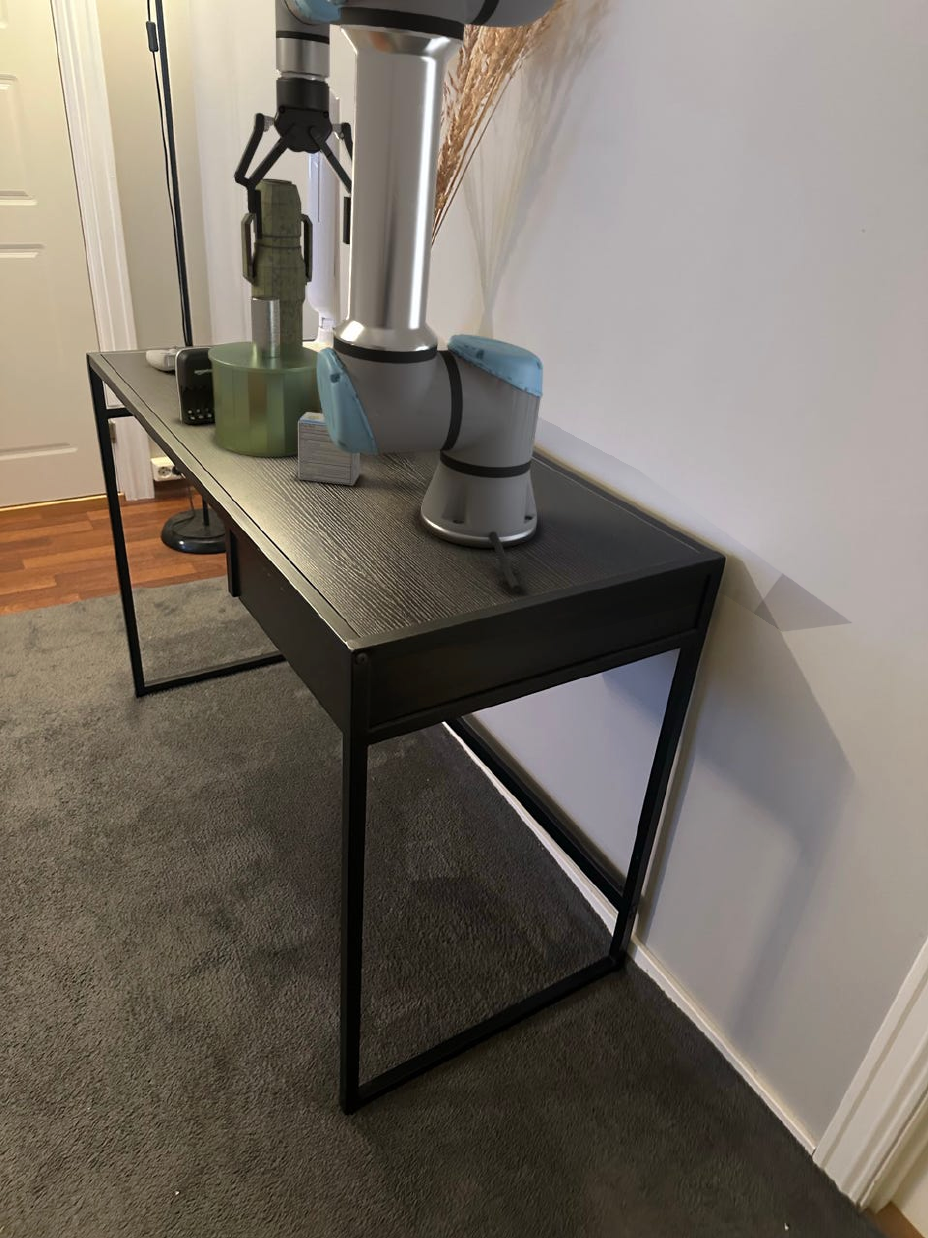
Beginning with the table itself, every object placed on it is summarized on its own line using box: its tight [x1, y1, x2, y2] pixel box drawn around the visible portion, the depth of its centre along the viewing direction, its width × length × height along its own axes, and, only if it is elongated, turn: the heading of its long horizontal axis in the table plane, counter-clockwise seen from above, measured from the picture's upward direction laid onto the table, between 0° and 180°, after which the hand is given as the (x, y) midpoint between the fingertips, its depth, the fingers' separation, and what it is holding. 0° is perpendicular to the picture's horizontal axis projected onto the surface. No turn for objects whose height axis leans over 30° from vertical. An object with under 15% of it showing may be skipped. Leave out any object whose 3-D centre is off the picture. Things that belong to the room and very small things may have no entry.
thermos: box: [240, 178, 314, 347], centre depth 139 cm, size 9×12×35 cm
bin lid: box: [208, 295, 319, 373], centre depth 122 cm, size 17×17×9 cm
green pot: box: [212, 362, 321, 458], centre depth 127 cm, size 16×16×12 cm
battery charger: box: [174, 346, 215, 425], centre depth 131 cm, size 7×4×11 cm, turn 131°
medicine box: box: [297, 412, 361, 487], centre depth 116 cm, size 8×4×9 cm, turn 84°
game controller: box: [145, 345, 180, 372], centre depth 159 cm, size 14×4×10 cm
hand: (303, 240), depth 129 cm, fingers open, 13 cm apart
